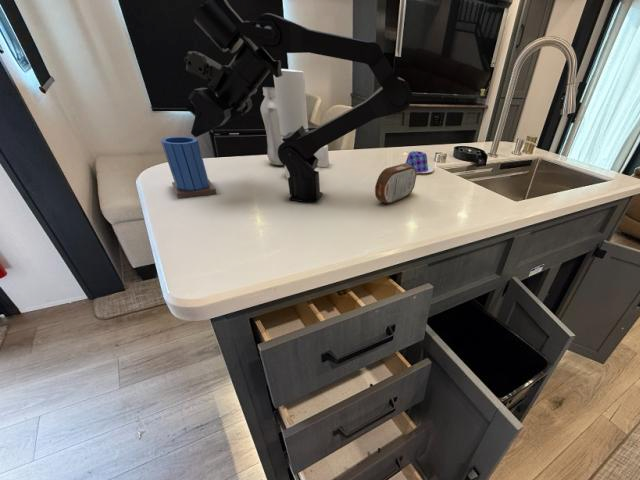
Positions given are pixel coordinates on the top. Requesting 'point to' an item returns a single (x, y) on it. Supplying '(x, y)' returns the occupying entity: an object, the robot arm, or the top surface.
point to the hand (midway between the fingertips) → (202, 130)
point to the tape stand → (201, 192)
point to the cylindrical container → (291, 102)
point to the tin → (395, 183)
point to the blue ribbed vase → (185, 163)
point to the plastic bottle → (271, 124)
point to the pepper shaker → (322, 156)
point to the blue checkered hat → (418, 162)
